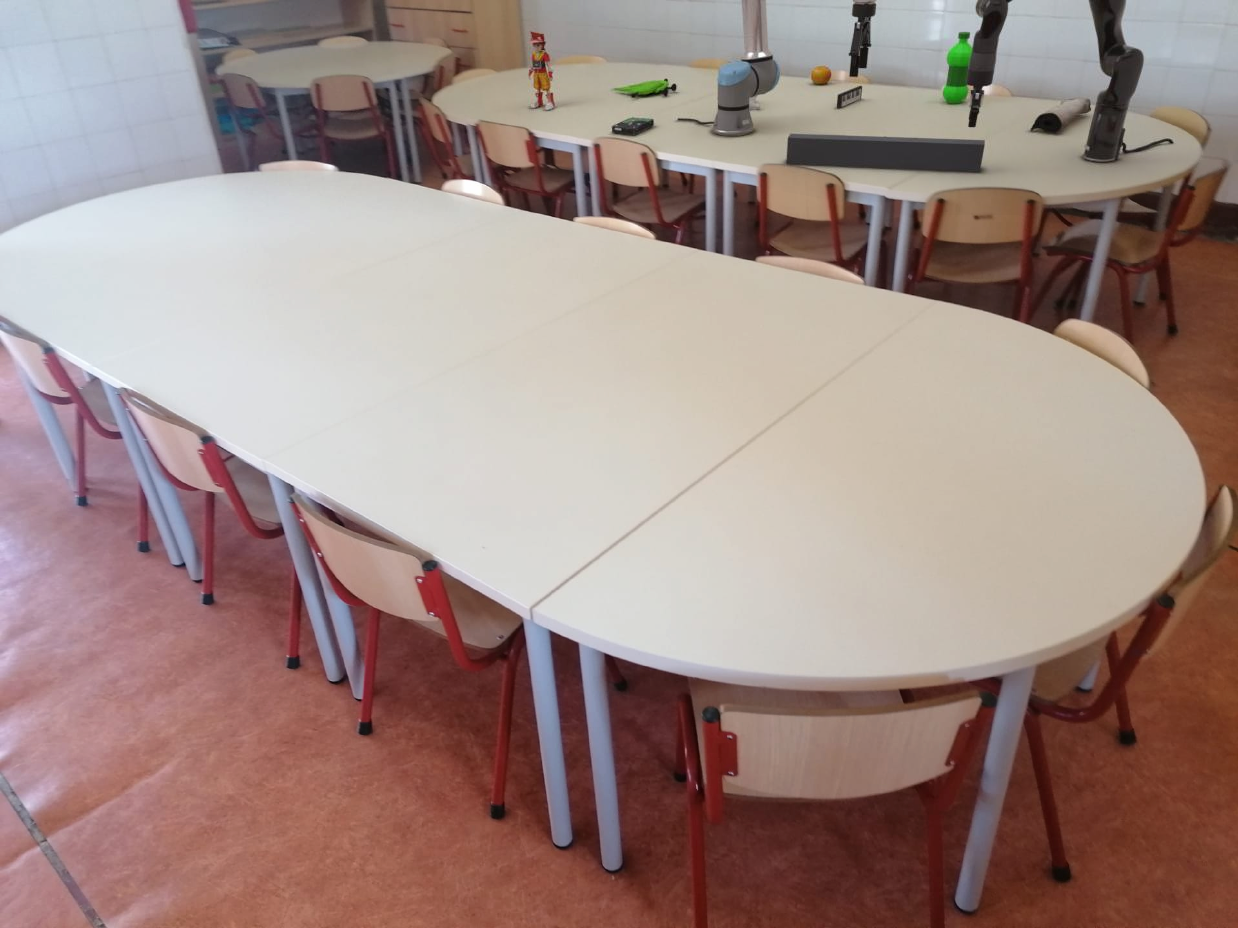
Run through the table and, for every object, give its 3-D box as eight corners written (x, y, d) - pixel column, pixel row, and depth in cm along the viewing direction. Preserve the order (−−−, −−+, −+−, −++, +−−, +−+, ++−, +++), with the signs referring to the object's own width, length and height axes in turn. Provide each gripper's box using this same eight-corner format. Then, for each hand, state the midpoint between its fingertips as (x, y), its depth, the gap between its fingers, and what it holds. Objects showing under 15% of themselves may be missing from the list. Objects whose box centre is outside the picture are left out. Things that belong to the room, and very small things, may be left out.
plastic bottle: (973, 101, 354) (984, 32, 339) (955, 106, 349) (966, 36, 335) (952, 97, 361) (962, 29, 346) (934, 102, 356) (944, 33, 342)
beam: (786, 164, 300) (787, 137, 295) (788, 159, 304) (790, 133, 299) (979, 172, 282) (984, 144, 277) (979, 168, 286) (984, 140, 281)
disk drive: (634, 136, 338) (654, 126, 348) (634, 128, 336) (654, 118, 346) (611, 133, 343) (631, 123, 353) (611, 126, 341) (631, 116, 351)
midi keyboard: (839, 108, 356) (840, 95, 353) (836, 108, 357) (837, 94, 354) (861, 99, 366) (862, 86, 363) (858, 98, 367) (859, 85, 364)
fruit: (806, 77, 389) (817, 59, 386) (809, 80, 396) (820, 63, 393) (821, 87, 387) (833, 70, 384) (824, 90, 395) (835, 74, 392)
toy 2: (686, 85, 398) (631, 84, 414) (685, 72, 395) (629, 72, 411) (651, 104, 381) (596, 103, 397) (650, 92, 378) (594, 91, 394)
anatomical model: (727, 81, 368) (751, 74, 367) (732, 106, 373) (755, 100, 373) (734, 89, 355) (759, 82, 354) (738, 116, 361) (763, 109, 360)
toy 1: (525, 109, 381) (517, 32, 364) (534, 104, 388) (527, 28, 371) (550, 110, 377) (543, 32, 360) (559, 105, 384) (553, 28, 367)
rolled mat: (1058, 102, 333) (1083, 85, 325) (1072, 123, 334) (1096, 106, 326) (1026, 124, 316) (1051, 107, 308) (1040, 146, 317) (1066, 129, 308)
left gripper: (868, 9, 281) (861, 81, 293) (884, -3, 299) (876, 65, 311) (844, 9, 284) (838, 80, 296) (861, -3, 302) (855, 64, 314)
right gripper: (994, 73, 262) (984, 130, 271) (994, 63, 273) (984, 118, 282) (967, 72, 264) (958, 129, 273) (968, 62, 275) (959, 117, 284)
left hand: (858, 72), depth 304 cm, fingers open, 13 cm apart
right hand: (971, 123), depth 278 cm, fingers open, 8 cm apart
